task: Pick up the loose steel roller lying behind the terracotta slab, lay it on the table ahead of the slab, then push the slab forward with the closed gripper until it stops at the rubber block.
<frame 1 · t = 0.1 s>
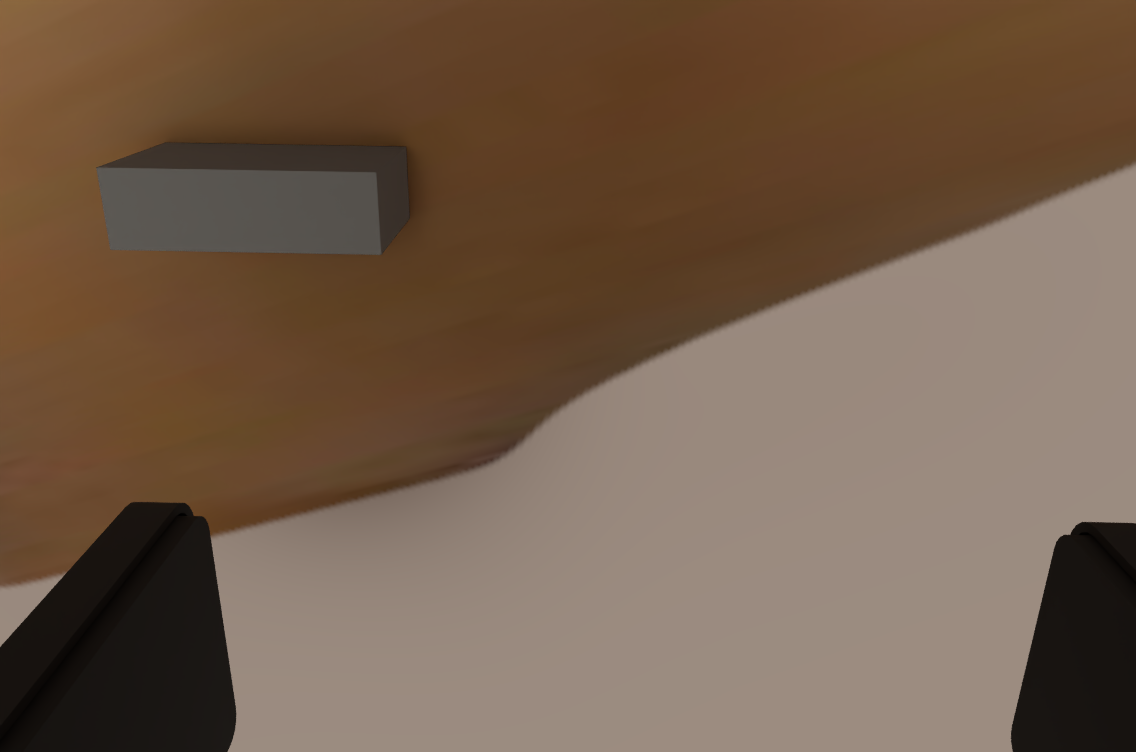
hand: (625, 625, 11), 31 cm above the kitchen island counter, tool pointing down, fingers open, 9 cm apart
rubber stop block: (289, 180, 40), on the kitchen island counter
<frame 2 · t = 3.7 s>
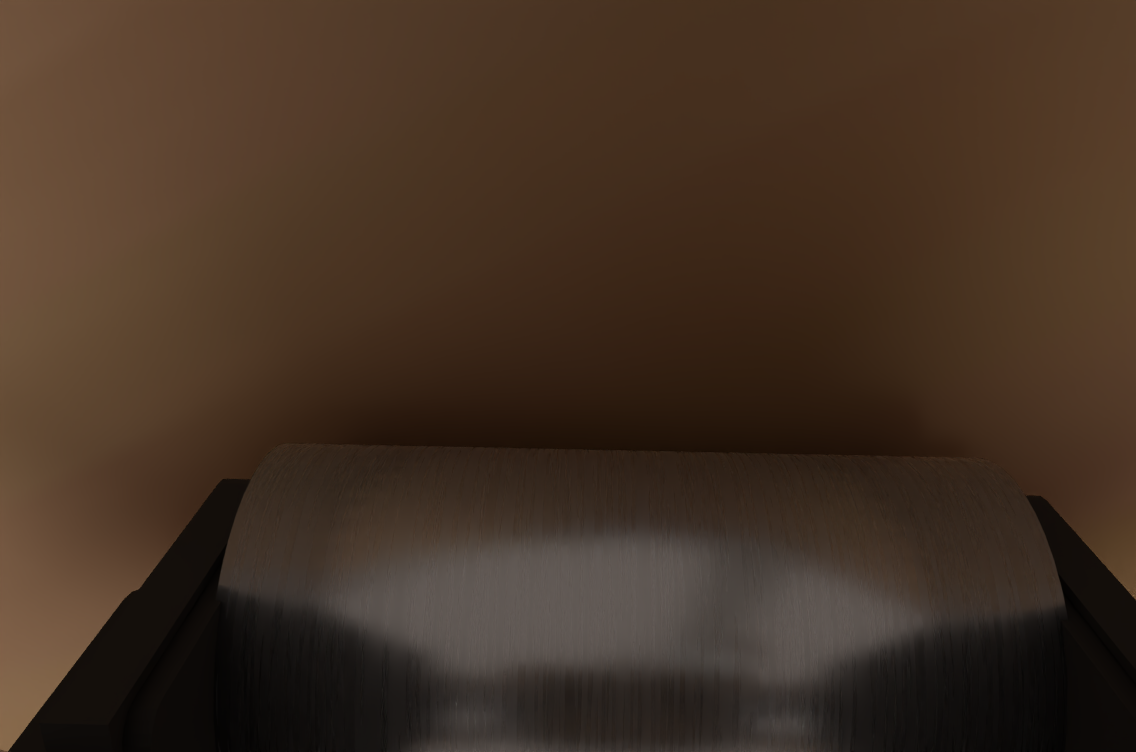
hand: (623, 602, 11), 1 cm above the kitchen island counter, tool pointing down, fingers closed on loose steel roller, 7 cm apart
loose steel roller: (621, 537, 12), on the kitchen island counter, touching gripper
when the fingers open (2 cm above the kitchen island counter, at t = 10.0 s): loose steel roller stays where it is, on the kitchen island counter.
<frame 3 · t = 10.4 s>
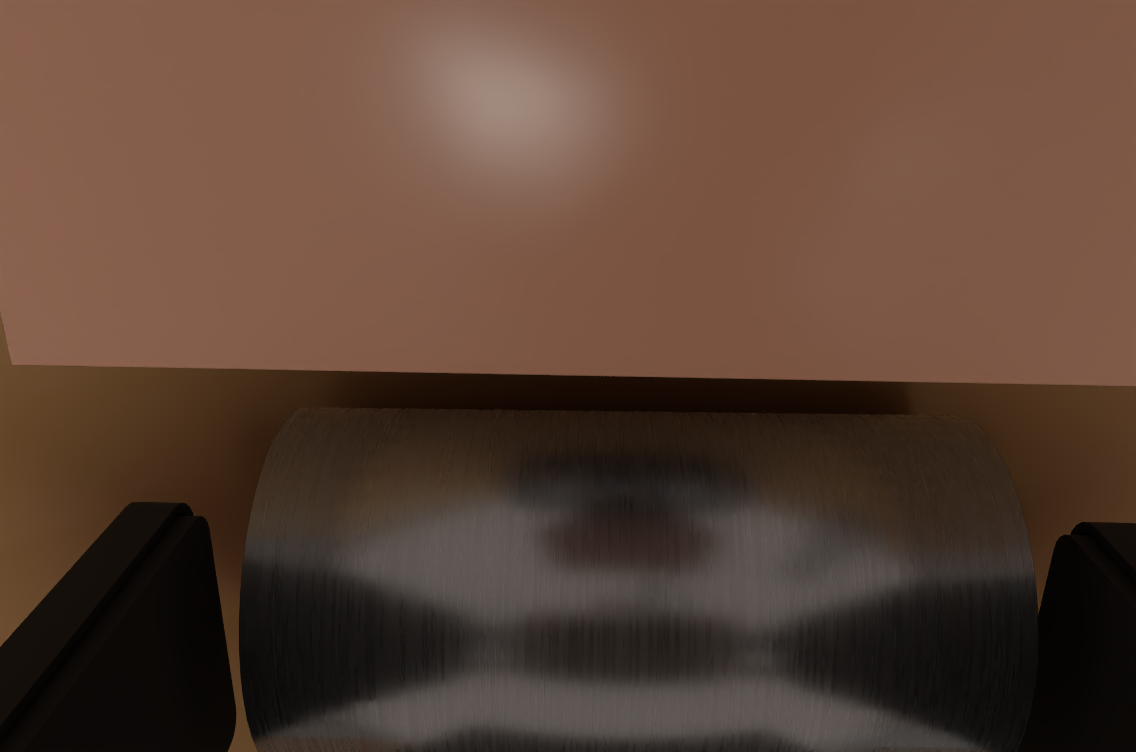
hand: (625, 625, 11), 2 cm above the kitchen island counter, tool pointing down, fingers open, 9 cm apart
loose steel roller: (620, 501, 13), on the kitchen island counter
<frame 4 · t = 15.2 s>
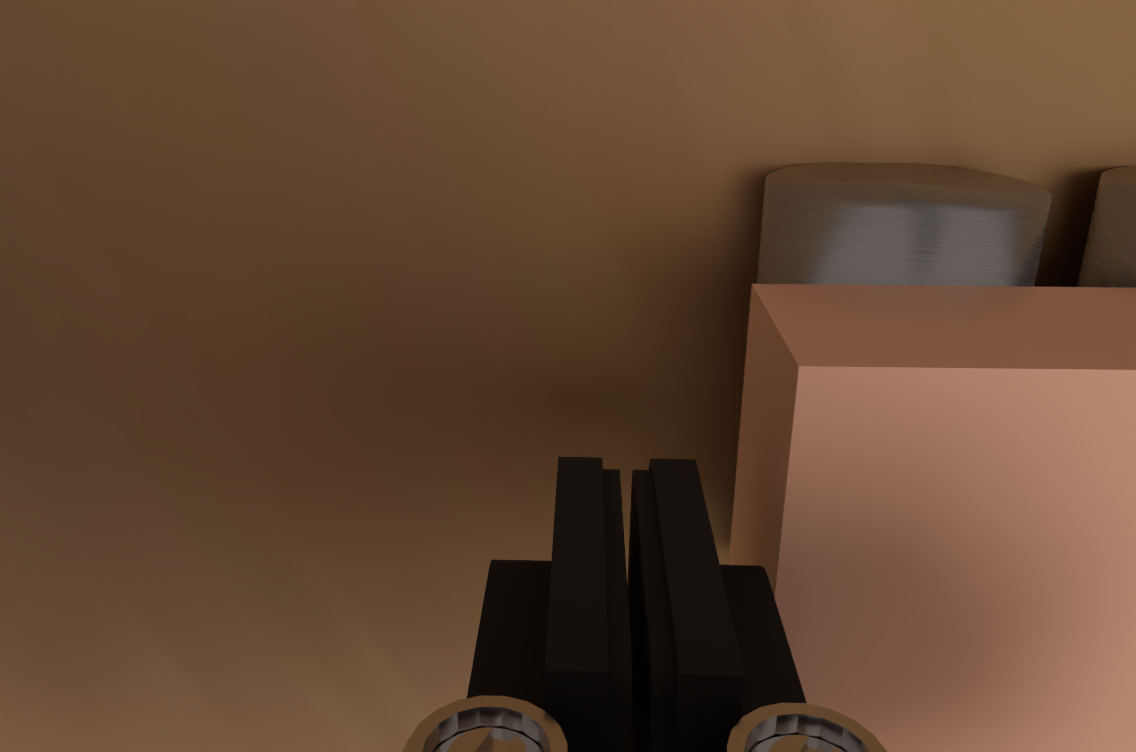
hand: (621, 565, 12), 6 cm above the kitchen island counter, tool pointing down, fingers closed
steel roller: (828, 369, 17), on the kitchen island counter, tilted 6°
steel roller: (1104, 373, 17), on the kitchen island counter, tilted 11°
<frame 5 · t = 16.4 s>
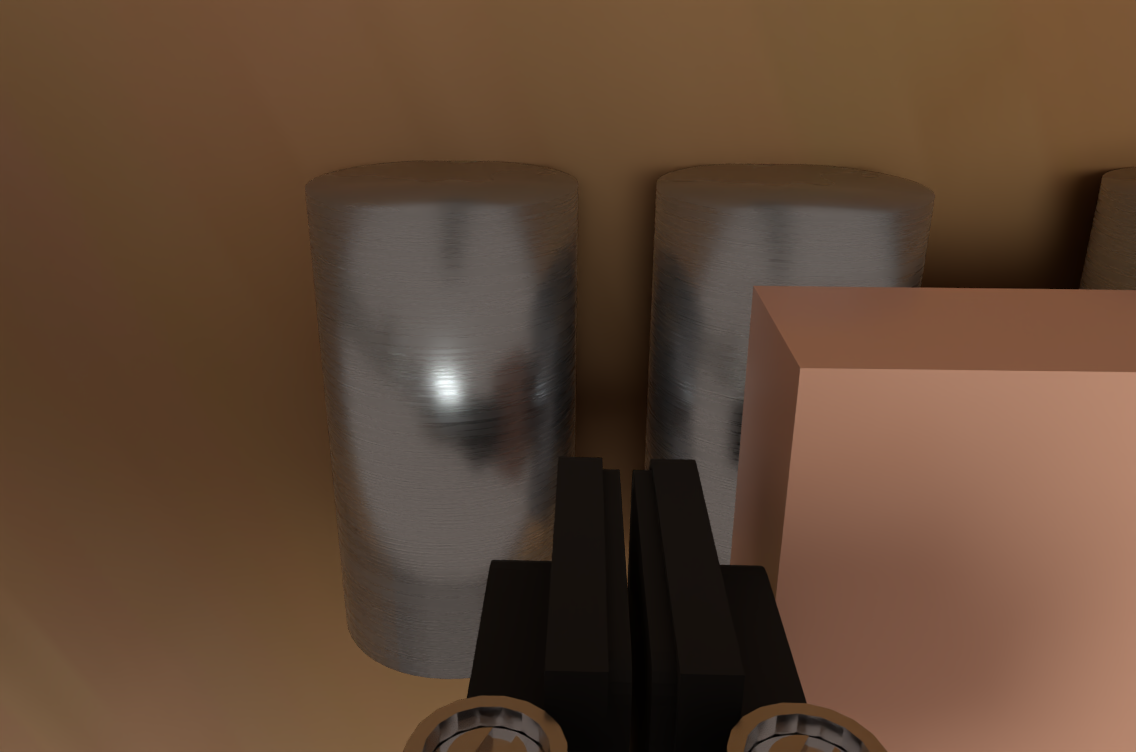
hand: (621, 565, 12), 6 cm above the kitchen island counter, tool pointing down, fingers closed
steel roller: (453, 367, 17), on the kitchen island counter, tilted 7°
loose steel roller: (1131, 374, 17), on the kitchen island counter
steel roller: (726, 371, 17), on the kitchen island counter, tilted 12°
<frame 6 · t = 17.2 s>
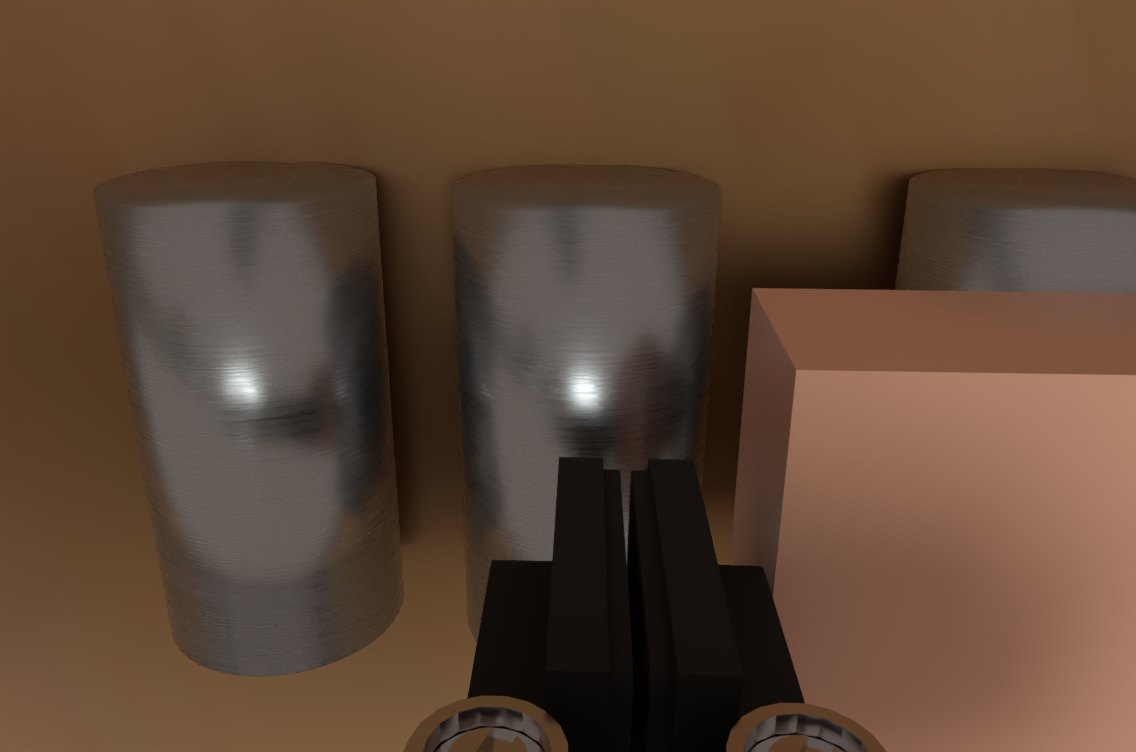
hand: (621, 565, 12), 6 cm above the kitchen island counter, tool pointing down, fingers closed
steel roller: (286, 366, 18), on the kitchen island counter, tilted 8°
loose steel roller: (962, 375, 17), on the kitchen island counter
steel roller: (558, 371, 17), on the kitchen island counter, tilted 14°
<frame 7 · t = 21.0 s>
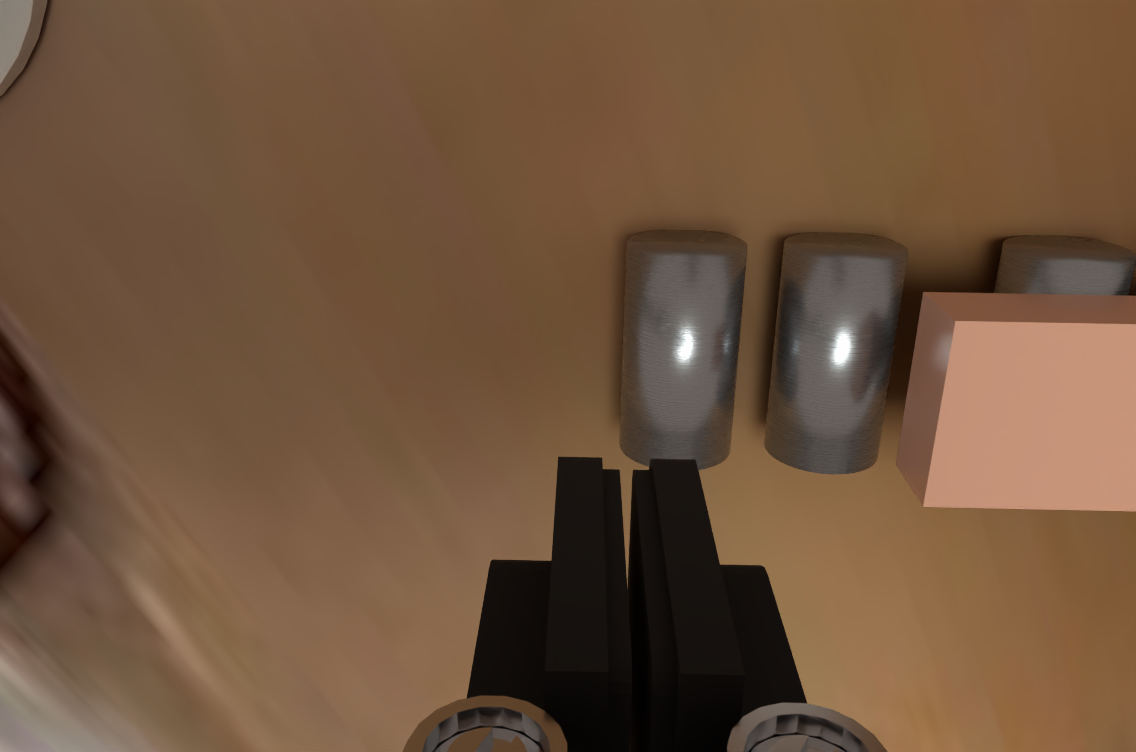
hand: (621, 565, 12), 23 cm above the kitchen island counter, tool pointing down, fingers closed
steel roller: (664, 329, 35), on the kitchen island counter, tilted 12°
loose steel roller: (1002, 336, 35), on the kitchen island counter, tilted 22°
terracotta slab: (1086, 401, 29), point 6 cm above the kitchen island counter, slide at 10.0 cm
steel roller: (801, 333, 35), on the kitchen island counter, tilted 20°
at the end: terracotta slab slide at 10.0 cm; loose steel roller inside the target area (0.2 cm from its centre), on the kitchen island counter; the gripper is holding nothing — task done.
